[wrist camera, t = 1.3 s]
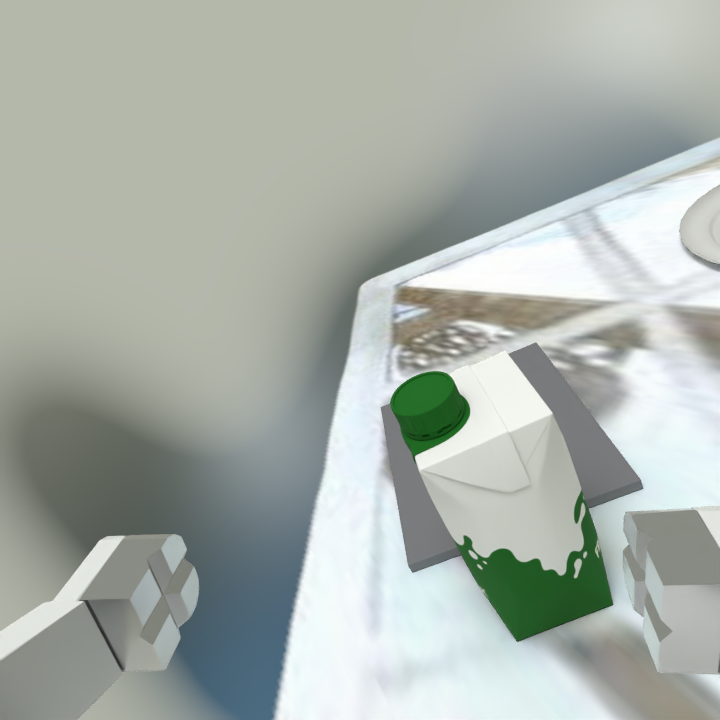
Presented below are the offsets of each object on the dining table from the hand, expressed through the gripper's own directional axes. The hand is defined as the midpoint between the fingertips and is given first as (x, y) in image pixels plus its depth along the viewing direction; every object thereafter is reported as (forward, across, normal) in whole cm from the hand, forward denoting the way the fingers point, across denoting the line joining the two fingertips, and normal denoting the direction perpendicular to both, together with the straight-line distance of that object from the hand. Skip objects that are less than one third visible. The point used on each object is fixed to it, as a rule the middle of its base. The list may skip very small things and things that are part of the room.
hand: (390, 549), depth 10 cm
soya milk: (+24, -6, +27) cm, 36 cm away
